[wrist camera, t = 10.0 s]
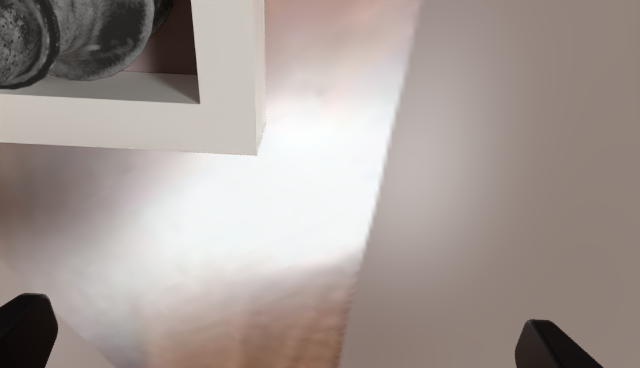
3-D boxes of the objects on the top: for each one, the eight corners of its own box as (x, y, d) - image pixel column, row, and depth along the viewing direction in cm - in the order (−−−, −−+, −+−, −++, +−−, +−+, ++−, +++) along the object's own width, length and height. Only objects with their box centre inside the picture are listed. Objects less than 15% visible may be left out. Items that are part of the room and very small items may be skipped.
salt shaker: (-5, -111, 17) (-519, -98, 7) (160, -128, 17) (-122, -143, 6) (58, 56, 20) (-230, 238, 10) (198, 45, 20) (50, 222, 9)
